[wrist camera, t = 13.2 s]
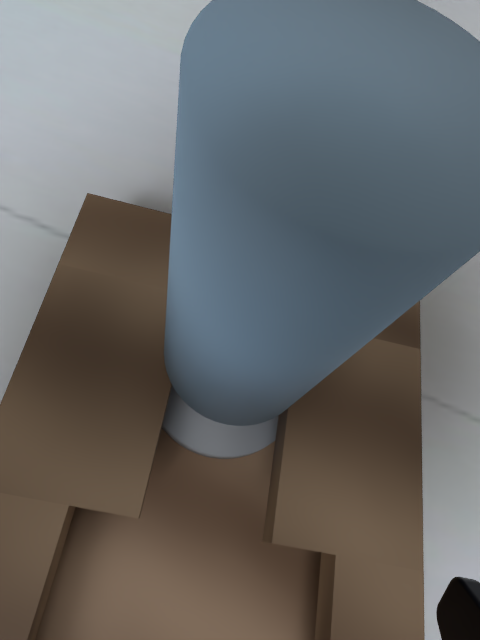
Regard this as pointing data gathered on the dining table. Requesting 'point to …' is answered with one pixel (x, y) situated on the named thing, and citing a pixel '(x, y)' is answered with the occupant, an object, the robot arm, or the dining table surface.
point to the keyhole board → (197, 476)
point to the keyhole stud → (309, 199)
